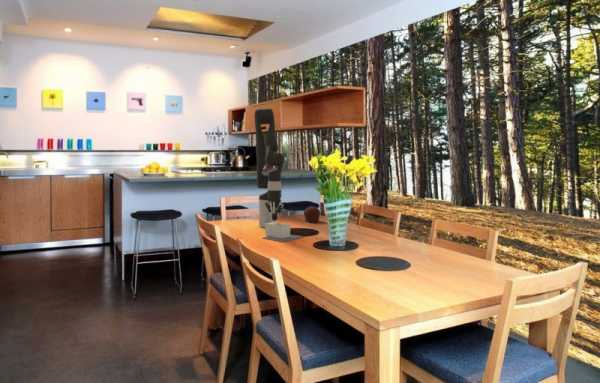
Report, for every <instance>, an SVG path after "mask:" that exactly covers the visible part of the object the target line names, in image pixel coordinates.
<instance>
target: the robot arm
mask: <svg viewBox="0 0 600 383" xmlns="http://www.w3.org/2000/svg"><path fill="white" fill-rule="evenodd" d="M253 114H254V115H253V116H254V126H255V127H254V128H255V154H256V155H255V156H256V187H257V188H258V189H267V191H266V192H263V193H261V194H259V195H258V214H259V215H258V221H259V222H258V227H259V228H265V223H271V222H276V221H277V220H278V214H279V213H281V212H282V210H283V208H284V206H285V203H282V200H281V198H282V169H283V166H284V163H285V156H284V154H283V153H280V152H278V151H279V145H278V141H277V135H276V134H277V133H276V122H275V115H274V111H273V109H272V108H271V107H270V108H269V107H268V108H267V107H266V108H265V107H264V108H256V109H255V110H254V113H253ZM261 125H269V126H268V130H267V131H266V133H264V131H263V129H262V126H261ZM266 165H267V166H268V167H275V169H271V170H269V171H268V172H267V173H263V170H264V168H265V167H266Z"/></svg>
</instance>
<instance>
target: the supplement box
mask: <svg viewBox="0 0 600 383" xmlns="http://www.w3.org/2000/svg"><path fill="white" fill-rule="evenodd" d="M264 230H265V231H264V233H265V236H264V237H267V236H269V237H274V238H279V239H283V238H287V237H290V234H291V224H290V223H283V222H278V221H275V222H271V223H265V227H264Z"/></svg>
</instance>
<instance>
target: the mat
mask: <svg viewBox="0 0 600 383" xmlns="http://www.w3.org/2000/svg"><path fill="white" fill-rule="evenodd" d="M302 238H304V236H303V235H297V234H291V233H290V237H287V238H283V239H279V238H274V237H269V236H264V237H262V239H264V240H268V241H275V242H280V243H285V242H286V243H287V242H291V241H294V240H299V239H302Z"/></svg>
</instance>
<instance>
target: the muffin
mask: <svg viewBox="0 0 600 383" xmlns="http://www.w3.org/2000/svg"><path fill="white" fill-rule="evenodd" d="M303 214H304V222H306V223H311V224H312V223H315V224H316V223H318V222H319V221H320V215H321V210H320V209H319V208H318V207H316V206H307V207H306V208H305V209H304V211H303Z"/></svg>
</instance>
